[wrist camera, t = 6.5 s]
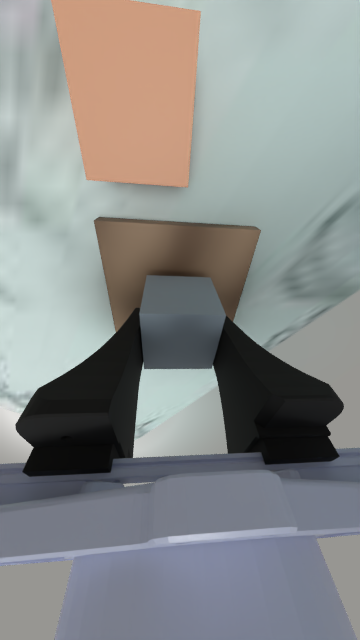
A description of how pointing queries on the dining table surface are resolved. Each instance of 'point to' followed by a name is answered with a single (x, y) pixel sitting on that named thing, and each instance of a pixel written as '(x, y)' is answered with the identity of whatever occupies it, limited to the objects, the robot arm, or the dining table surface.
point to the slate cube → (180, 322)
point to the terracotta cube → (131, 87)
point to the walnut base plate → (172, 258)
